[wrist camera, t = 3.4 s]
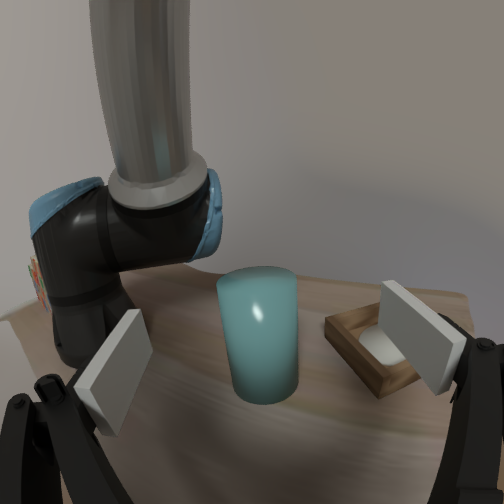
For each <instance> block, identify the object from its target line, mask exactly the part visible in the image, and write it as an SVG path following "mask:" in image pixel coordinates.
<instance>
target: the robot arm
mask: <svg viewBox="0 0 504 504" xmlns="http://www.w3.org/2000/svg"><path fill="white" fill-rule="evenodd" d="M89 7H90V22H91V34H92V44H93V53H94V60H95V68H96V75H97V81H98V87H99V93H100V99H101V104H102V109H103V114H104V118H105V124H106V128H107V133H108V137H109V141H110V146H111V150H112V153H113V158H114V162H115V165H116V168H115V169H114V170H113V172H112V173H111V175H110V177H109V181H108V185H107V186H104V182H103V181H102V179H101V177H92V178H87V179H84V180H81V181H78V182H75V183H71V184H68V185H66V186H63V187H60V188H58V189H56V190H53V191H51V192H49V193H47V194H45V195H43V196H41V197H40V198H38V199H37V200H36V201H34V203H33V204H32V205H31V207H30V210H29V221H30V230H31V239H32V240H33V245H34V249H35V253H36V257H37V261H38V265H39V269H40V272H41V276H42V279H43V283H44V286H45V289H46V292H47V295H48V298H49V301H50V304H51V308H52V322H53V333H54V343H55V347H56V349H57V351H58V354H59V356H60V358H61V360H62V361H63V362H64V363H65V364H66V365H68V366H70V367H73V368H77V369H78V370H77V371H76V374H74V375H73V377H72V378H71V380H70V381H69V383H68V384H67V385H66V387H65V385H64V383H63V381H62V379H61V377H60V376H59V375H57V374H48V375H45V376H43V377H41V378H40V379H38V380H37V382H36V383H35V385H34V389H35V391H36V393H37V394H38V396H39V398H40V399H41V401H42V402H32V400H31V399H30V397H29V396H28V395H27V394H25V393H20V394H17V395H15V396H13V397H12V398H11V399H10V400H9V402H8V404H7V408H6V412H5V416H4V420H3V424H2V429H1V434H0V504H63V499H62V491H61V478H60V471H61V474H62V476H63V479H64V482H65V485H66V487H67V490H68V492H69V495H70V498H71V500H72V502H73V504H134V503H133V501H132V500H131V498H130V497H129V495H128V494H127V492H126V491H125V489H124V487H123V486H122V484H121V482H120V481H119V479H118V477H117V475H116V474H115V472H114V470H113V468H112V467H111V465H110V463H109V461H108V459H107V457H106V455H105V453H104V451H103V449H102V447H101V445H100V443H99V441H98V439H97V437H96V436H95V434H94V433H93V432H94V430H95V428H96V426H97V428H98V429H99V431H100V432H101V434H102V435H106V436H112V437H118V435H119V432H120V430H121V427H122V424H123V422H124V419H125V417H126V414H127V412H128V409H129V407H130V404H131V402H132V400H133V397H134V395H135V392H136V390H137V387H138V385H139V383H140V380H141V378H142V376H143V373H144V371H145V369H146V366H147V364H148V362H149V359H150V357H151V355H152V353H153V349H152V346H151V343H150V340H149V336H148V333H147V330H146V326H145V323H144V319H143V315H142V312H141V309H137V308H136V306H135V305H134V303H133V302H132V300H131V299H130V297H129V296H128V294H127V293H126V291H125V289H124V288H123V286H122V283H121V279H120V275H119V272H124V271H130V270H137V269H143V268H150V267H157V266H164V265H171V264H178V263H184V262H186V263H189V262H191V261H193V260H196V259H200V258H205V257H209V256H211V255H212V254H213V253H215V251H216V250H217V248H218V246H219V243H220V240H221V234H222V223H223V216H222V211H221V209H222V192H221V186H220V182H219V178H218V175H217V173H216V172H215V171H214V170H213V169H208V168H207V165H206V162H205V160H204V159H203V157H202V156H201V155H199V154H198V153H197V152H195V151H193V149H192V131H191V111H190V110H191V109H190V76H189V15H190V14H189V13H190V0H89ZM378 326H379V327H380V328H381V329H382V331H383V332H384V333H385V334H386V335H387V337H388V338H389V339H390V340H391V341H392V342H393V344H394V345H395V346H396V347H397V348H398V350H399V351H400V352H401V353H402V355H403V356H404V357H405V358H406V359H407V361H408V362H409V363H410V364H411V365H412V367H413V368H414V369H415V370H416V372H417V373H418V374H419V375H420V377H421V378H422V379H423V380H424V382H425V383H426V384H427V385H428V387H429V388H430V389H431V391H432V392H433V393H434V394H435V396H437V395H440V394H442V393H444V392H447V391H449V389H450V386H451V384H452V381H453V380H454V381H455V383H456V384H457V387H456V389H455V392H454V394H453V396H452V399H451V401H450V403H452V402H453V407H452V414H451V419H450V425H449V430H448V435H447V439H446V444H445V448H444V452H443V456H442V460H441V463H440V467H439V470H438V473H437V477H436V480H435V483H434V486H433V489H432V492H431V495H430V497H429V500H428V503H427V504H502V503H503V496H504V493H503V491H502V490H498V489H497V480H498V473H499V466H500V457H501V445H502V437H503V441H504V344H500V345H496V344H495V343H494V342H493V341H492V340H490V339H487V338H477V339H474V338H473V337H472V336H471V335H469V334H468V333H467V332H466V331H465V330H463V329H462V328H461V327H459V326H458V325H457V324H456V323H454V322H453V321H452V320H451V319H450V318H448V317H447V316H444V315H442V314H440V313H438V314H436V313H435V312H434V311H433V310H431V309H430V308H429V307H428V306H426V305H425V304H424V303H423V302H421V301H420V300H419V299H417V298H416V297H415V296H414V295H412V294H411V293H410V292H408V291H407V290H406V289H404V288H403V287H402V286H400V285H399V284H398V283H396V282H395V281H394V280H390V281H384V282H381V296H380V307H379V317H378ZM453 400H454V401H453Z"/></svg>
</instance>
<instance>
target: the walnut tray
mask: <svg viewBox="0 0 504 504" xmlns="http://www.w3.org/2000/svg"><path fill="white" fill-rule="evenodd" d="M379 307H380V302H379V303H375V304H372V305H369V306H365V307H362V308H358V309H355V310H351V311H347V312H344V313H340V314H336V315H332V316H329V317H325V338H326V339H327V340H328V341H329V342H330V344H331V345H332V346H333V347H334V348H335V349H336V351H337V352H338V353H339V354H340V355H341V356H342V358H343V359H344V360H345V361H346V362H347V363H348V365H349V366H350V367H351V368H352V369H353V370H354V372H355V373H356V374H357V375H358V376H359V377H360V379H361V380H362V381H363V382H364V383H365V384H366V386H367V387H368V388H369V389H370V390H371V391H372V393H373V394H374V395H375V396H376V397H377V398H378V399H380V398H382V397H384V396H386V395H389V394H391V393H393V392H395V391H397V390H399V389H401V388H403V387H405V386H407V385H409V384H411V383H413V382H415V381H417V380H418V379H420V378H421V377H420V375H419V374H418V373H417V372H416V370H415V369H414V368H413V367H412V365H411V364H410V363H409V362H408V361H407V359H406V360H404V361H402V362H400V363H397V364H395V365H393V366H391V367H388V366H383V365H382V364H381V363H380V362H379V361H378V360H377V359H376V358H375V357H374V356H373V355H372V354H371V353H370V352H369V351H368V350H367V349H366V348H365V347H364V346H363V345H362V344H361V343H360V342H359V337H360V335H361V333H362V332H363V331H364V330H365V329H367V328H369V327H371V326H373V325H376V324H378V317H379Z"/></svg>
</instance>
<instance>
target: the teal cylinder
mask: <svg viewBox="0 0 504 504" xmlns="http://www.w3.org/2000/svg"><path fill="white" fill-rule="evenodd" d="M216 286H217V293H218V300H219V306H220V313H221V319H222V325H223V331H224V337H225V343H226V349H227V355H228V361H229V367H230V372H231V378H232V383H233V388H234V391H235V393H236V394H237V395H238V396H239V397H240V398H241V399H243V400H244V401H247V402H249V403H253V404H259V405H267V404H274V403H277V402H280V401H283V400H285V399H286V398H288V397H289V396H291V395H292V394H293V393H294V391H295V390H296V388H297V386H298V308H297V278H296V275H295V274H294V273H293V272H291V271H290V270H287V269H284V268H280V267H271V266H258V267H248V268H243V269H239V270H235V271H233V272H230V273H227V274H225V275H224V276H222V277H221V278H220V279H219V280H218V281H217V284H216Z"/></svg>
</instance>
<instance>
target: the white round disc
mask: <svg viewBox="0 0 504 504" xmlns="http://www.w3.org/2000/svg"><path fill="white" fill-rule="evenodd" d="M359 342H360V343H361V344H362V345H363V346H364V347H365V348H366V349H367V350H368V351H369V352H370V353H371V354H372V355H373V356H374V357H375V358H376V359H377V360H378V361H379V362H380V363H381V364H382V365H383V366H388V367H391V366H393V365H395V364H397V363H400V362H402V361H404V360H406V358H405V357H404V356H403V355H402V353H401V352H400V351H399V350H398V348H397V347H396V346H395V345H394V344H393V342H392V341H391V340H390V339H389V338H388V337H387V335H386V334H385V333H384V332H383V331H382V329H381V328H380V327H379V326H378V324H376V325H373V326H371V327H369V328H367V329H365V330H364V331H363V332H362V333H361V335H360V337H359Z"/></svg>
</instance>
